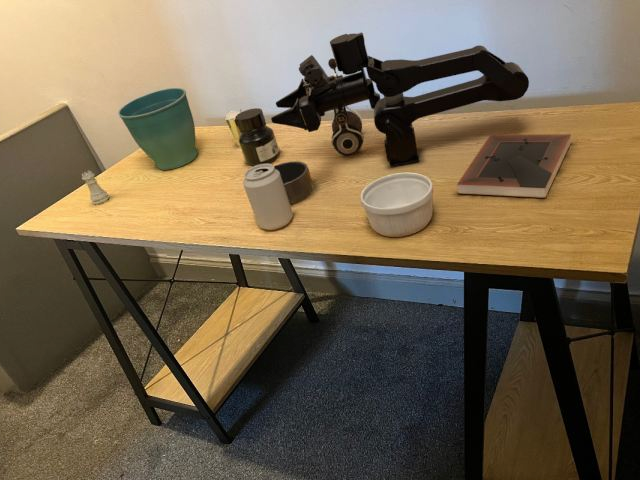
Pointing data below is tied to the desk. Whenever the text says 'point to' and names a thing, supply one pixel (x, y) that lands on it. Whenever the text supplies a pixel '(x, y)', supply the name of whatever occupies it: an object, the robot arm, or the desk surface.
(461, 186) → the picture frame
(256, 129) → the ink bottle
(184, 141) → the flower pot
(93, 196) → the rook chess piece
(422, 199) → the ramekin
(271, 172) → the can
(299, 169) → the bowl
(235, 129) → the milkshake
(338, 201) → the desk surface
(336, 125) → the headset
